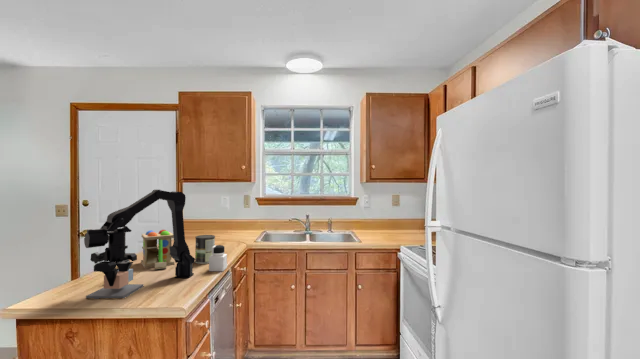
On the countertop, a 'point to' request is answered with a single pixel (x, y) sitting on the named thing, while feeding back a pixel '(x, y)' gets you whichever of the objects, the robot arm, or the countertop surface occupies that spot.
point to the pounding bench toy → (151, 251)
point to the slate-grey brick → (130, 275)
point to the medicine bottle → (218, 259)
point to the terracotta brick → (117, 280)
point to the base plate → (115, 292)
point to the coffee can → (204, 248)
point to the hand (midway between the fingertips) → (116, 283)
